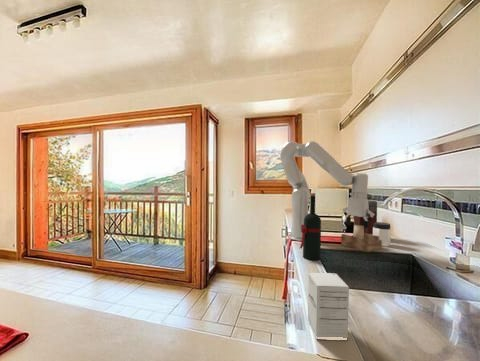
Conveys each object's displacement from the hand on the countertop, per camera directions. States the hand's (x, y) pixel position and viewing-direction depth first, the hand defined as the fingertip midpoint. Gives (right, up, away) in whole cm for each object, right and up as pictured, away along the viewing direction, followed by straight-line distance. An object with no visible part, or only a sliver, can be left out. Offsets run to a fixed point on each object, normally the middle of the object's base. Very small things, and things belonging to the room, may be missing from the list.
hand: (356, 226), depth 128 cm
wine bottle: (-33, -11, -22) cm, 41 cm away
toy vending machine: (+15, -11, +20) cm, 27 cm away
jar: (+16, -11, +3) cm, 19 cm away
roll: (+1, -11, 0) cm, 11 cm away
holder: (+2, -11, -2) cm, 11 cm away
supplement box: (-44, -11, -73) cm, 86 cm away
